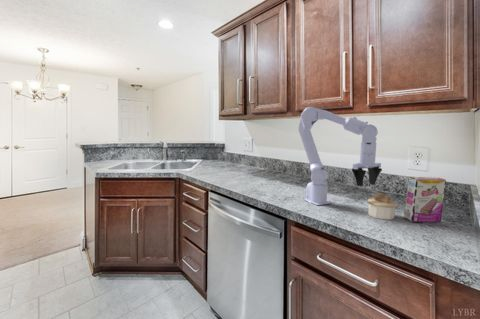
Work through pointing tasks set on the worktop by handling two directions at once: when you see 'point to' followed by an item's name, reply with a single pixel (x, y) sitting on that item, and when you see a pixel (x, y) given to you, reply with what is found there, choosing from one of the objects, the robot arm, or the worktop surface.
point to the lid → (382, 201)
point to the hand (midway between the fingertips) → (365, 185)
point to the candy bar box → (424, 199)
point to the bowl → (381, 212)
